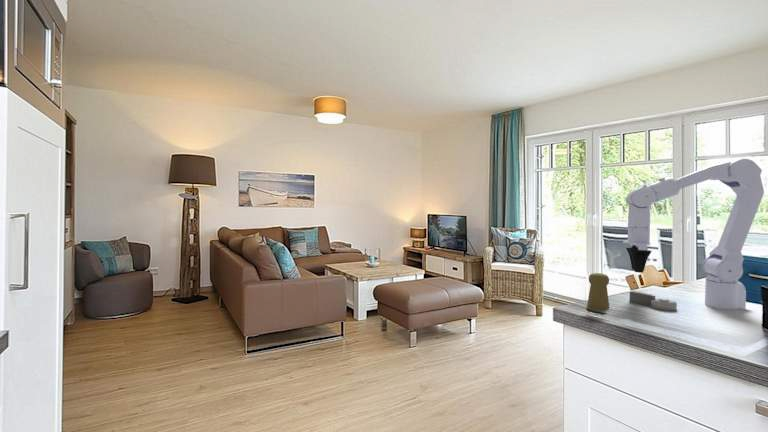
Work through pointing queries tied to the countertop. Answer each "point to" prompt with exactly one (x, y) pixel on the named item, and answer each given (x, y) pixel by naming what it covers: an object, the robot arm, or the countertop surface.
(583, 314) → the countertop surface
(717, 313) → the countertop surface
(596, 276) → the cork
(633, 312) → the countertop surface
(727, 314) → the countertop surface
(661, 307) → the peg dial
